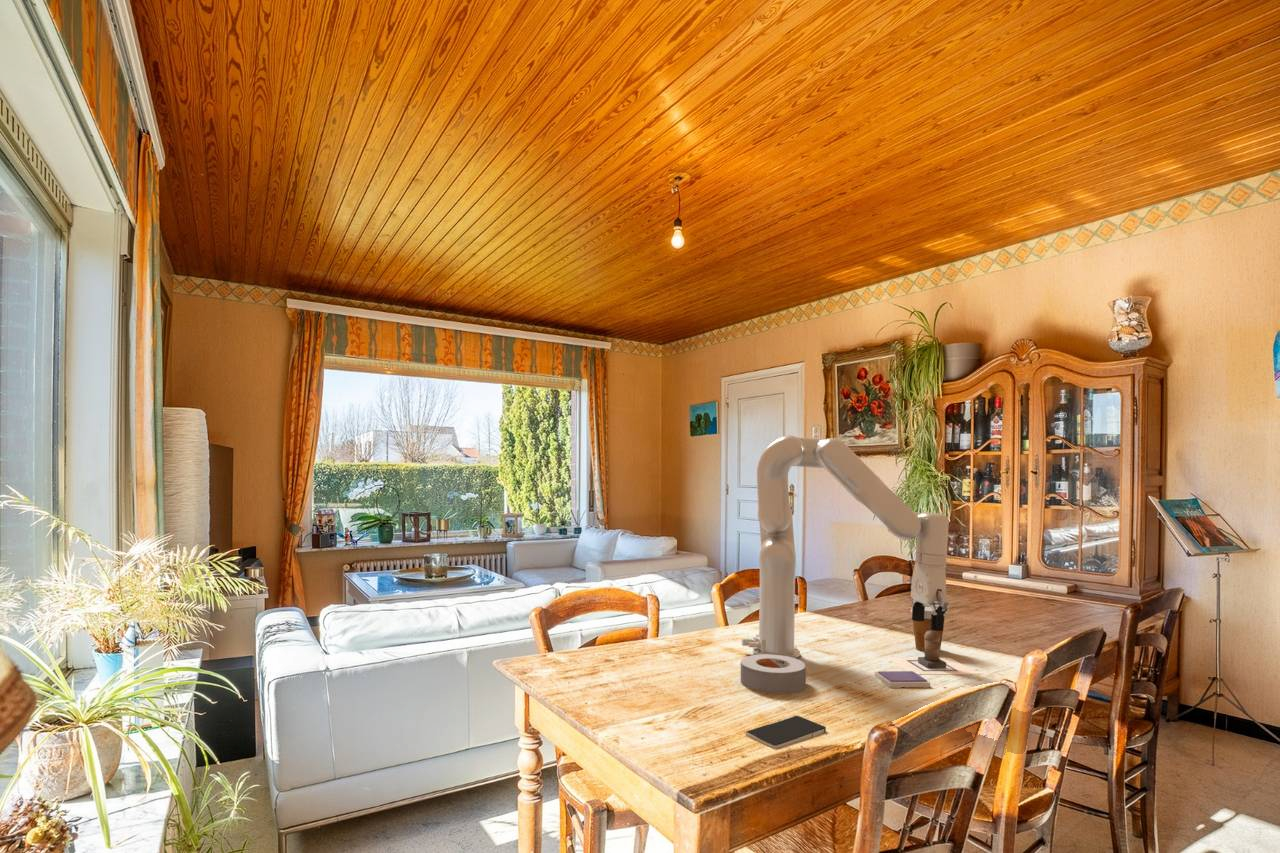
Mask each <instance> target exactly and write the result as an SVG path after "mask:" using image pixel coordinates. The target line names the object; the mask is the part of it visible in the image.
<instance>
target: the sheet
mask: <svg viewBox="0 0 1280 853" xmlns="http://www.w3.org/2000/svg"><path fill="white" fill-rule="evenodd" d="M886 659H887V660H888V661H890V662H891V663H893V664H894V665H896V666H898V667H899V668H900V669H902V671H913V672H915V673H916V674H918V675H919V676H921V675H923V676H929V675H930V676H932V675H933V676H935V675H936V676H937V675H938V676H939V675H941V676H942V675H946V676H947V675H951V676H953V675H980V673H979V672H978V671H975V670H973V669H971V668H969V667H968V666H966V665H964V664H962V663H960V662H959V661H957V660H955V659H953V658H951V657H939V659H941V660H942V661H944V662H946V668H939V669H928V668H926V667H924V666H923V665H921V664H919V663H918V657H886Z"/></svg>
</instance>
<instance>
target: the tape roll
mask: <svg viewBox="0 0 1280 853" xmlns="http://www.w3.org/2000/svg"><path fill="white" fill-rule="evenodd" d="M806 671H807V669H806V664H805V662H804V661H803V660H800V659H798V658H792V657H787V656H781V655H771V654H759V655H755V654H753V655H752V654H751V655H748V656H745V657H744V658H741V660H740V685H742V686H743V687H745V688H747V689H748V690H751V689H752V690H751V691H754V690H755V692H758V691H759V693H762V692H763V694H769V693H771V694H772V695H793V694H796V693H800V692H803V691H804V690H805V689H806V687H807V672H806ZM792 693H793V694H792ZM771 694H770V695H771Z"/></svg>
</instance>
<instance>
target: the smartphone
mask: <svg viewBox="0 0 1280 853" xmlns="http://www.w3.org/2000/svg"><path fill="white" fill-rule="evenodd" d="M826 732H827V727H826V726H824V725H821V724H820V723H817V722H814V721H812V720H810V719H807V718H805V717H802V716H800V715H793V716H790V717H788V718H783V719H782V720H778V721H774V722H772V723H768V724H766V725H762V726H759V727H755V728H753V729H750V730H747V731H746V732H745V736H747V737H748V738H751V739H753V740H755V741H757V742H758V743H762V744H763V745H765V746H767V747H769V748H772V749H775V750H776V749H779V748H782V747H786V746H789V745H792V744H794V743H797V742H801V741H803V740H806V739H809V738H810V739H811V738H812V737H817V736H819V735H822V734H823V733H826Z"/></svg>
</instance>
